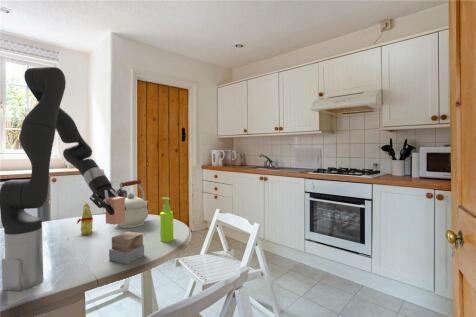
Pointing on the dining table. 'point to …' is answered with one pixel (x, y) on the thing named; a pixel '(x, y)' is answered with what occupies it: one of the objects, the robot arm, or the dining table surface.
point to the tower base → (126, 255)
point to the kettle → (134, 208)
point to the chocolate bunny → (86, 220)
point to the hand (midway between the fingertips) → (118, 212)
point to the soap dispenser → (166, 222)
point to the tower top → (127, 241)
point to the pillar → (116, 210)
